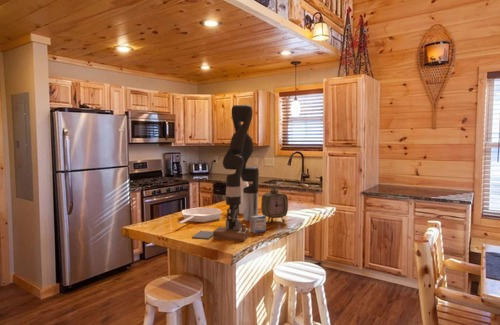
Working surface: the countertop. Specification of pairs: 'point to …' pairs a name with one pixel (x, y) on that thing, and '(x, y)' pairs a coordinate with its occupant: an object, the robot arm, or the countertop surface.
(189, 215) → the pan
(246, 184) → the milk
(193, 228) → the countertop surface
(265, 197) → the tabletop clock
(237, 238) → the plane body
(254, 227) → the medicine box
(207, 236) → the rubber mat
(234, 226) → the lever cap
